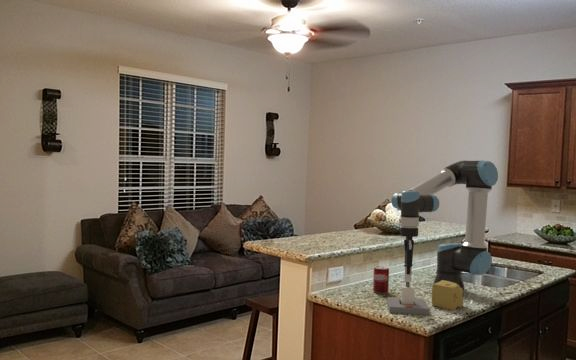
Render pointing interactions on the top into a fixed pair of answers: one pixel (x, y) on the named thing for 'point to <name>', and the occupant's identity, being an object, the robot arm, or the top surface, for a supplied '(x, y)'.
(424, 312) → the socket
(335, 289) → the top surface
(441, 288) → the cheese
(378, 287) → the soda can
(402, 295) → the plug
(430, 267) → the top surface
